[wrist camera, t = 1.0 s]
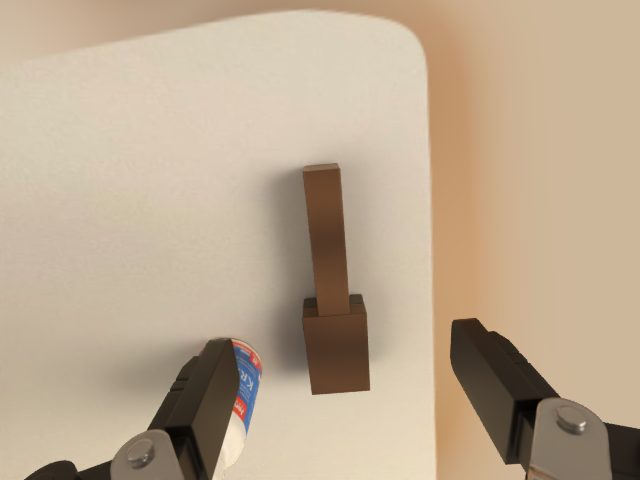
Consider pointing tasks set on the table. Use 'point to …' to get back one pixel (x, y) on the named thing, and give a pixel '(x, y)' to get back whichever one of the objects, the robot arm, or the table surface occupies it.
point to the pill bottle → (240, 406)
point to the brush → (332, 293)
